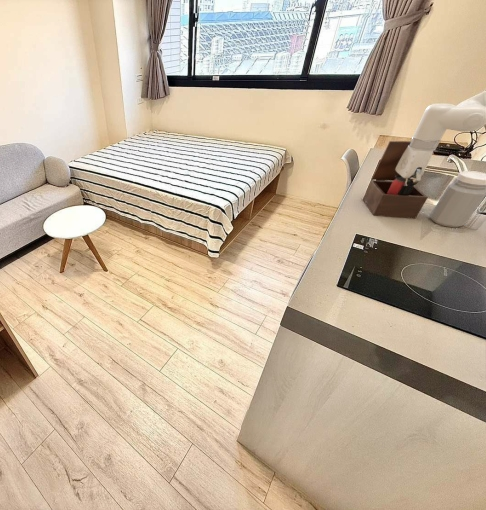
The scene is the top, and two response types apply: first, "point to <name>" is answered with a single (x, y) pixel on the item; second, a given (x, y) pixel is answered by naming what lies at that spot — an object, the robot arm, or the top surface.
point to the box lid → (390, 160)
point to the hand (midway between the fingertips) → (399, 191)
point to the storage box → (393, 201)
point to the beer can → (397, 185)
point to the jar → (460, 199)
